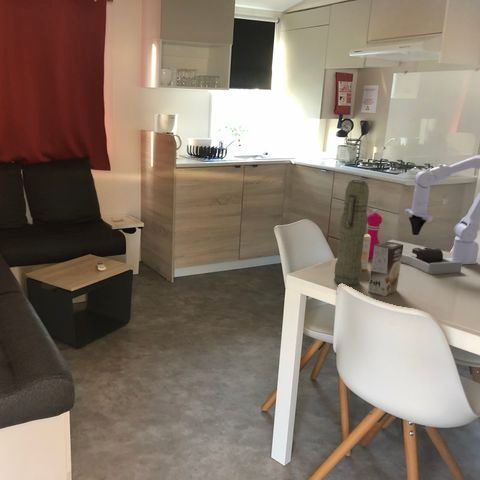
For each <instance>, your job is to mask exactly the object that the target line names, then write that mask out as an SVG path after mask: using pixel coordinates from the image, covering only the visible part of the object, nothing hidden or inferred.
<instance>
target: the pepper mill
mask: <svg viewBox="0 0 480 480" xmlns="http://www.w3.org/2000/svg"><path fill="white" fill-rule="evenodd" d="M367 218H368V220H367V228H366V229H367V232H366V234H369V235H370V237H371V241H370V250H369V258H368V261H372V260H373V252H374V245H376V244H379V243H380V240H379V238H378V237H379V235H378V234H379V231H380V230H381V229H380V228H381V223H382V222H383V217H382V215H381V214H379V213H378V209H373V211H372V212H370V213H369V214H368V215H367Z"/></svg>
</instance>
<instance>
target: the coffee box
mask: <svg viewBox="0 0 480 480" xmlns="http://www.w3.org/2000/svg"><path fill="white" fill-rule="evenodd" d="M403 250H404V244H401V243H398V242H393V241H388V240H386V241H383V242H379V244H376V245H374V252H373V260H371V268H370V277H369V284H368V291H367V292H369V293H373V294H377V295H379V296H382V297H386V296H389V295H390V294H392V293H394V292H396V291H397V290H398V285H399V279H400V278H399V277H400V271H401V263H402V262H401V258H402V254H403Z"/></svg>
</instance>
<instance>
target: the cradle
mask: <svg viewBox="0 0 480 480" xmlns="http://www.w3.org/2000/svg"><path fill="white" fill-rule="evenodd" d="M412 256H413V255H408V254H404V253H402V258H401V263H403V264H406V265H410V266H412V267H414V268H416V269H418V270H420V271H422V272H425V273H426V274H428V275H440V274H441V275H443V274H454V273H456V274H457V273H461V271H462V267H463V265H462V262H461V261H452V260H449V259H447V258H448V257H444V256H443V260H442V262H437V263H429V264H428V263H426V262H424V261H422V260H419V259H417V258H415V257H416V256H414V257H412Z"/></svg>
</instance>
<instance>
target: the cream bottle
mask: <svg viewBox="0 0 480 480" xmlns="http://www.w3.org/2000/svg"><path fill="white" fill-rule="evenodd" d="M370 241H371V237H370V235H369V234H367V233H366V234H365V236H364V240H363V248H362V257H361V264H362V270H361V271H368V267H369V266H368V265H369V260H368V258H369V250H370Z"/></svg>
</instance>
